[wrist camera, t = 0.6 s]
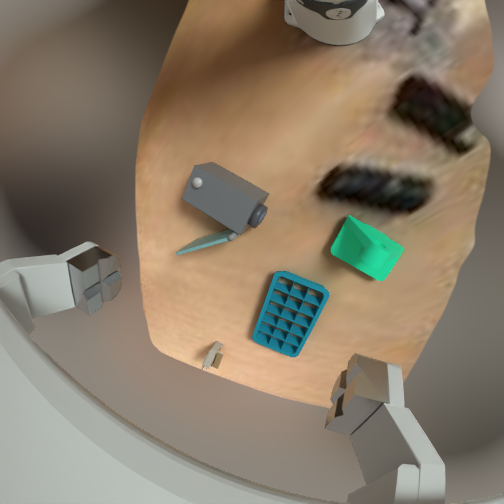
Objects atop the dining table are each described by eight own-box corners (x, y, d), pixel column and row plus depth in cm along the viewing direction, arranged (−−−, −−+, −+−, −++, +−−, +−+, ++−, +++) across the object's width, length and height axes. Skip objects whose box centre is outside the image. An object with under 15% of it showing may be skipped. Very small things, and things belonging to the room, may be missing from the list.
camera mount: (329, 247, 51) (324, 270, 42) (348, 213, 47) (348, 229, 38) (381, 276, 49) (385, 304, 40) (402, 244, 45) (412, 267, 36)
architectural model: (228, 345, 70) (217, 363, 63) (223, 360, 73) (211, 377, 66) (217, 339, 70) (204, 357, 64) (212, 354, 73) (200, 371, 67)
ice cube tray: (332, 284, 53) (331, 291, 51) (298, 350, 62) (296, 359, 60) (279, 263, 56) (275, 269, 53) (254, 332, 65) (250, 340, 62)
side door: (248, 222, 54) (231, 235, 47) (250, 228, 54) (234, 242, 47) (196, 238, 60) (175, 251, 53) (198, 243, 60) (177, 257, 53)
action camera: (276, 198, 50) (264, 206, 44) (260, 228, 54) (246, 241, 47) (212, 162, 52) (192, 165, 45) (200, 192, 55) (179, 200, 49)
